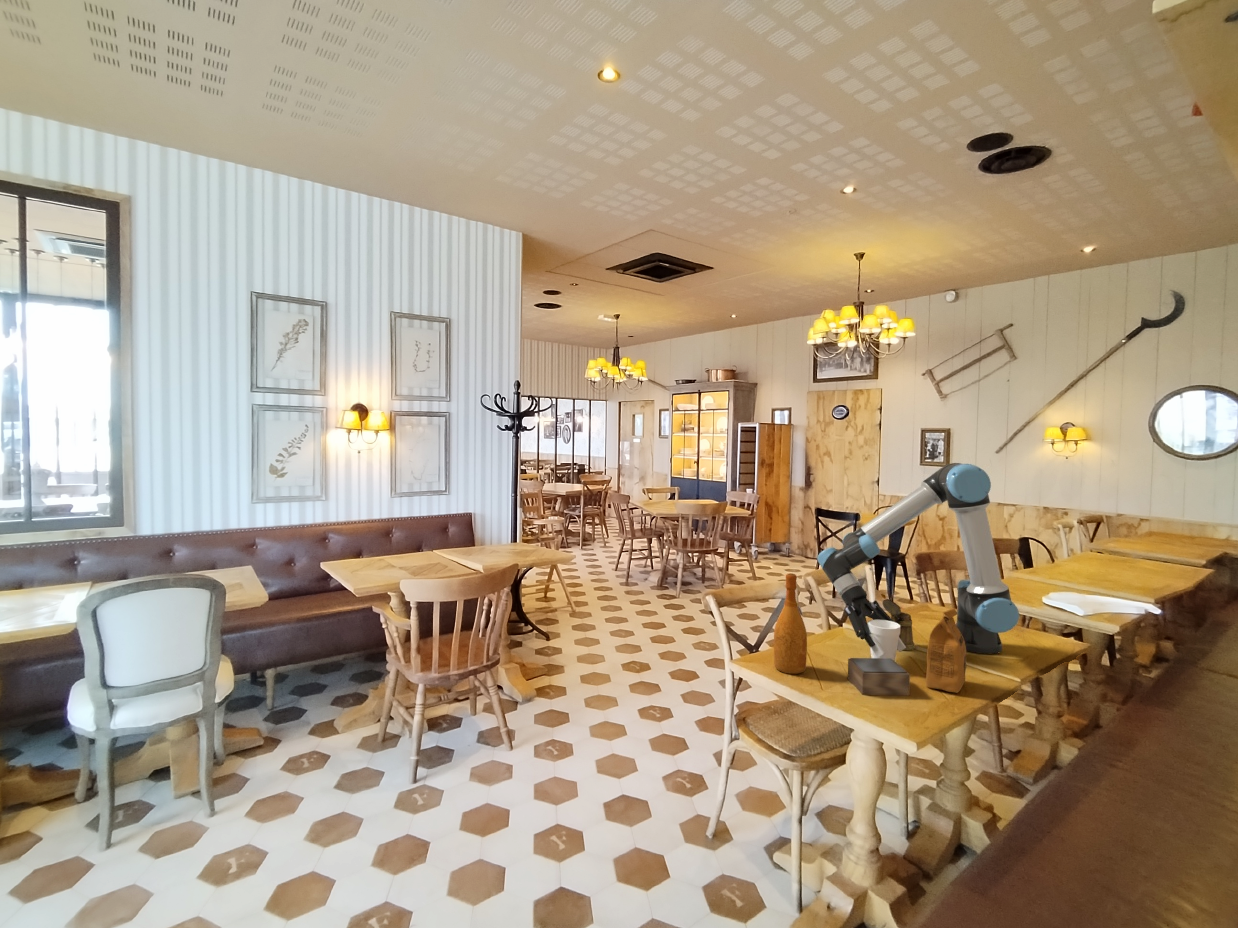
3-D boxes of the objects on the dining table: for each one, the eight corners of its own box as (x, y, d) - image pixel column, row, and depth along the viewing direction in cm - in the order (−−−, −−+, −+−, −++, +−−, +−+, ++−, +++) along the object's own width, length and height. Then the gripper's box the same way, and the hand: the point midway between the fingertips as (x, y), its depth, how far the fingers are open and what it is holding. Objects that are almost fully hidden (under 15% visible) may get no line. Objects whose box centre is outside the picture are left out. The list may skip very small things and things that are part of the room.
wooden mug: (873, 647, 198) (874, 596, 197) (894, 639, 206) (895, 590, 205) (899, 655, 191) (900, 602, 190) (919, 647, 199) (920, 595, 198)
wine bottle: (801, 677, 173) (803, 578, 171) (769, 670, 178) (770, 574, 177) (809, 667, 181) (811, 572, 180) (778, 660, 186) (780, 568, 185)
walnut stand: (891, 678, 172) (892, 657, 172) (909, 695, 161) (909, 672, 161) (847, 678, 173) (848, 657, 172) (862, 694, 162) (862, 671, 161)
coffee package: (971, 684, 168) (973, 610, 167) (959, 697, 160) (961, 619, 159) (934, 674, 175) (936, 603, 174) (920, 687, 167) (922, 611, 166)
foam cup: (903, 664, 182) (904, 623, 181) (894, 673, 175) (894, 630, 174) (872, 656, 188) (873, 617, 188) (862, 664, 182) (862, 624, 181)
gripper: (865, 592, 200) (906, 651, 186) (820, 600, 189) (860, 664, 176) (879, 580, 195) (922, 640, 182) (833, 588, 184) (876, 653, 171)
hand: (892, 652), depth 179 cm, fingers closed on foam cup, 9 cm apart
